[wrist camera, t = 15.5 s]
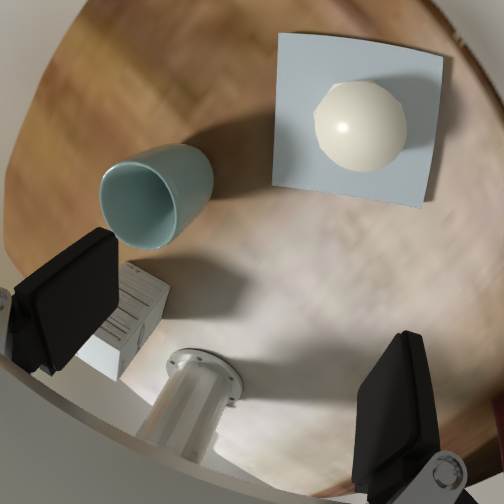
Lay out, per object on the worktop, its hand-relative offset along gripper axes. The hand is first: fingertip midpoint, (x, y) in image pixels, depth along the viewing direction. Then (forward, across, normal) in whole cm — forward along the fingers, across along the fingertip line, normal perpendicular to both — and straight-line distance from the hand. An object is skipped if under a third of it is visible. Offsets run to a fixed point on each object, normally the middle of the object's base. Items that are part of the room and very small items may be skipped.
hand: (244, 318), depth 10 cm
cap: (+20, -3, -6) cm, 21 cm away
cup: (+23, +12, +4) cm, 26 cm away
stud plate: (+22, -3, -6) cm, 23 cm away
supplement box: (+23, +16, +22) cm, 36 cm away
